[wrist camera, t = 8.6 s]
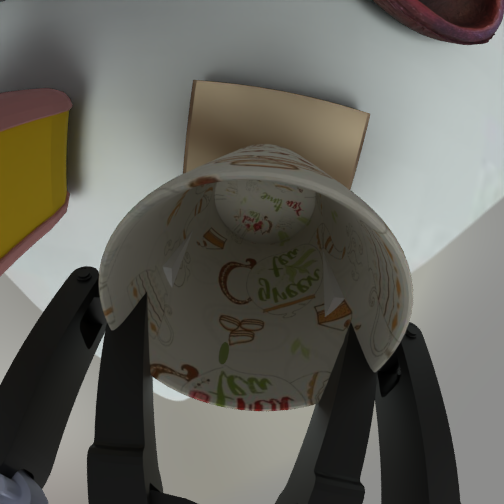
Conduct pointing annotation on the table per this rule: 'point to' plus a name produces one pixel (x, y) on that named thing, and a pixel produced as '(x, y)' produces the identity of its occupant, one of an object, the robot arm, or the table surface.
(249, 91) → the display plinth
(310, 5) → the table surface
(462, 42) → the bowl
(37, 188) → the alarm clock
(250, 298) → the mug
